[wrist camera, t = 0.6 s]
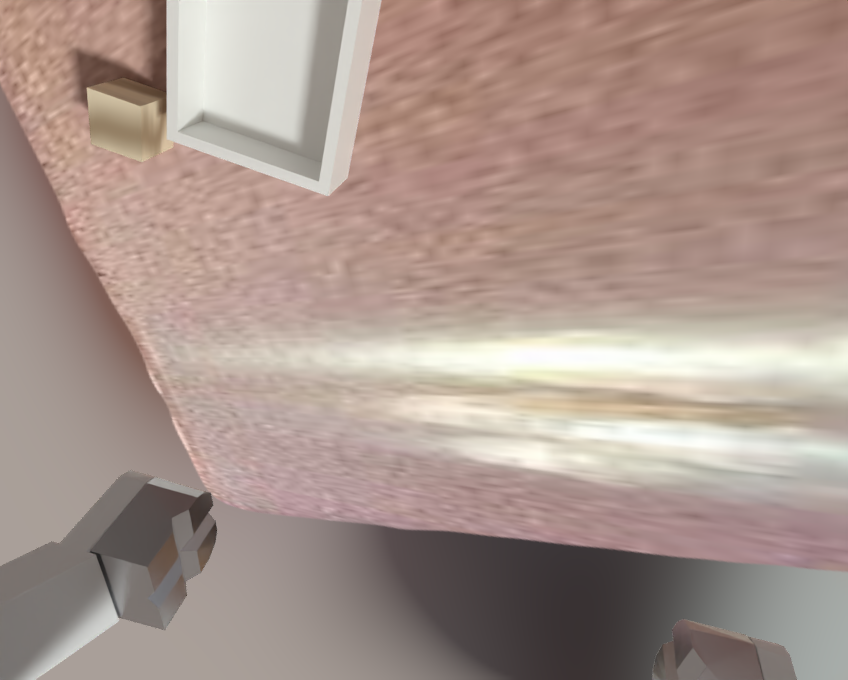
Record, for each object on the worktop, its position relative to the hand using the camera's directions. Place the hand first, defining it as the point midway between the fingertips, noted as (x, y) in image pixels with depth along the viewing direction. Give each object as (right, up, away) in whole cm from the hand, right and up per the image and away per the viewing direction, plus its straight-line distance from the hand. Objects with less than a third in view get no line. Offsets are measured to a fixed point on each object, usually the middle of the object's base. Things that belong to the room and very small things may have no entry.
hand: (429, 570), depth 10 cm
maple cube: (-26, +25, +45) cm, 58 cm away
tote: (-12, +29, +39) cm, 50 cm away
